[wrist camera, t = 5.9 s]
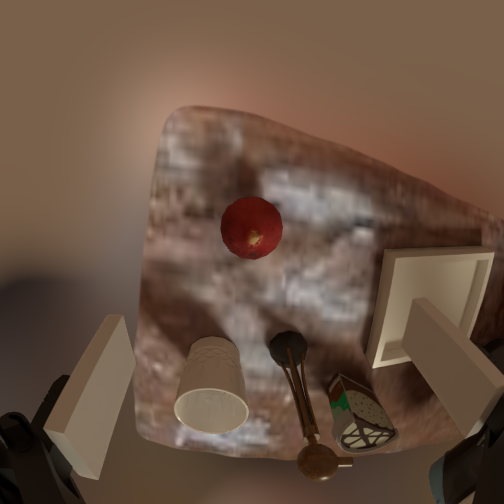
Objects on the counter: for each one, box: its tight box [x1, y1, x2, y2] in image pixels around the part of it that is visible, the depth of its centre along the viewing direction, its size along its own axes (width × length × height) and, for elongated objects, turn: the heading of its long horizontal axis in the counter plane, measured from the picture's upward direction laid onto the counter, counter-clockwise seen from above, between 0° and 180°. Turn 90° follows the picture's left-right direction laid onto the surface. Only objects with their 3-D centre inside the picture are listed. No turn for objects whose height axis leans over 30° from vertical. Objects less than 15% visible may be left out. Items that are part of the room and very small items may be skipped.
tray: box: [365, 246, 495, 368], centre depth 36 cm, size 18×16×3 cm
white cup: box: [174, 336, 249, 434], centre depth 33 cm, size 8×8×10 cm
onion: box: [220, 197, 283, 260], centre depth 29 cm, size 6×6×8 cm
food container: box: [327, 373, 399, 454], centre depth 38 cm, size 12×6×10 cm, turn 52°
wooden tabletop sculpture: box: [269, 331, 353, 481], centre depth 29 cm, size 6×5×20 cm
